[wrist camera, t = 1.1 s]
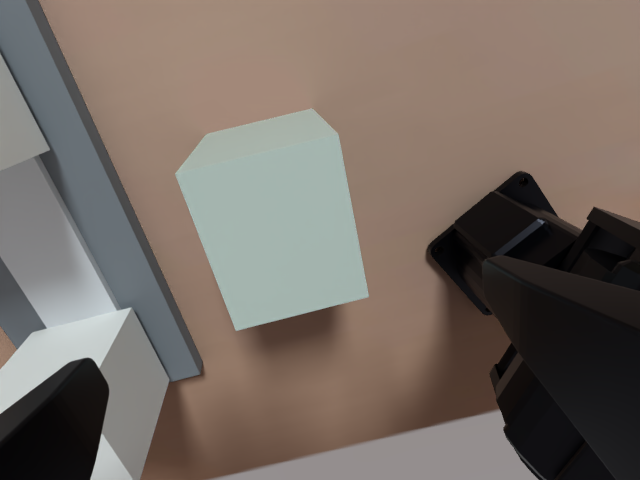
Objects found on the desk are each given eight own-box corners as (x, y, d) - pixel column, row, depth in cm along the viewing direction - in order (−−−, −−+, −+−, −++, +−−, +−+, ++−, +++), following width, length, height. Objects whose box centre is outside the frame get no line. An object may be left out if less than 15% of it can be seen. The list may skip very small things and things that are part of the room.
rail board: (202, 362, 23) (177, 484, 16) (69, 396, 23) (-12, 534, 16) (34, -9, 15) (-152, -64, 8) (-177, 40, 15) (-545, 22, 8)
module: (337, 224, 21) (369, 297, 14) (244, 247, 21) (235, 331, 14) (312, 108, 18) (338, 134, 12) (206, 133, 18) (175, 174, 12)
